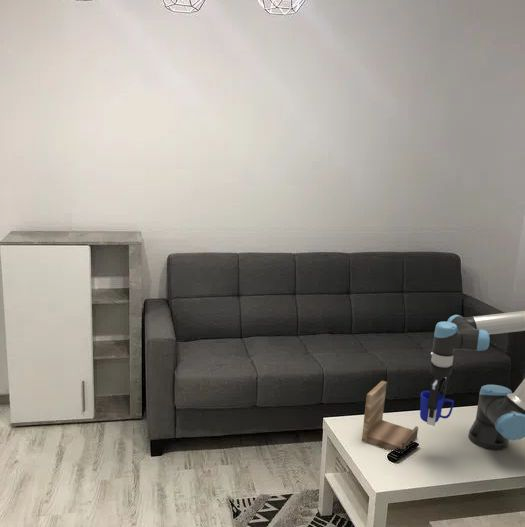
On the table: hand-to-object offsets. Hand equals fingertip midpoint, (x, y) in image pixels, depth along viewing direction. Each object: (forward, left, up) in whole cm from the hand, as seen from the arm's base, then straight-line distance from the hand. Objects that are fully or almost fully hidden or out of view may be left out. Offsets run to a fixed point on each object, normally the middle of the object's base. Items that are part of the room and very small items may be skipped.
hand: (433, 420), depth 230 cm
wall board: (+24, -2, -15) cm, 28 cm away
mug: (0, -1, 0) cm, 1 cm away
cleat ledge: (+16, -2, -15) cm, 22 cm away
